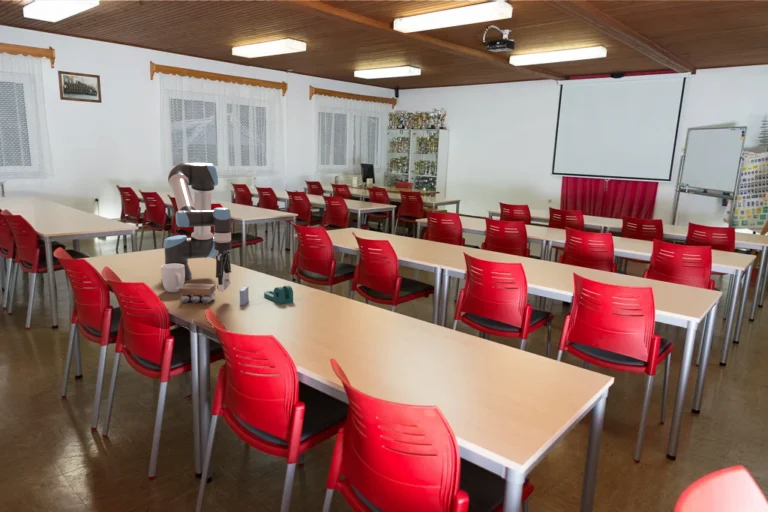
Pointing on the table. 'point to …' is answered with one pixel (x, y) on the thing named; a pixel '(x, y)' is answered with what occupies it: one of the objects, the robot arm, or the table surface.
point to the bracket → (280, 295)
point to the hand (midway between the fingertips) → (224, 288)
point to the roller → (226, 284)
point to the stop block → (244, 295)
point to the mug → (173, 276)
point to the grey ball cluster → (197, 298)
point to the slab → (197, 289)
